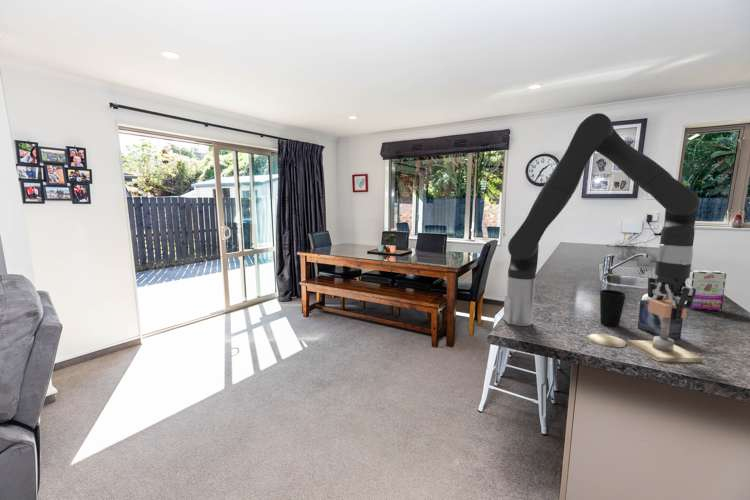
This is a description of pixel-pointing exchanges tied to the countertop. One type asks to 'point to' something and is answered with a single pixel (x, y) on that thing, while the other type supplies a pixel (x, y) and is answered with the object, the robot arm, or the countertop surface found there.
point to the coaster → (607, 340)
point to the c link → (663, 308)
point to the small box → (656, 322)
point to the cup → (611, 307)
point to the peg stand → (664, 347)
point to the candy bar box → (707, 289)
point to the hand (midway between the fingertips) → (665, 316)
